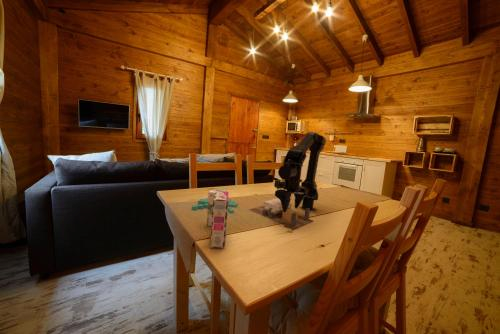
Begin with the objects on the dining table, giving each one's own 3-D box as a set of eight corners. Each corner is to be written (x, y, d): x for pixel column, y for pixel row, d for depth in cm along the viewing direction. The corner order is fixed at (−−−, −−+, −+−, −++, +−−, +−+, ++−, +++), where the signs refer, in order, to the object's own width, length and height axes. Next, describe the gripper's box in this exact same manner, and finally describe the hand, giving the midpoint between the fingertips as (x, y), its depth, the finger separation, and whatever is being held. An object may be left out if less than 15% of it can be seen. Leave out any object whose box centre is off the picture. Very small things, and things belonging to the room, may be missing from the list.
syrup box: (225, 224, 92) (227, 190, 89) (218, 229, 86) (221, 193, 84) (213, 221, 93) (215, 188, 91) (206, 226, 88) (207, 191, 86)
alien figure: (233, 215, 103) (239, 203, 122) (233, 211, 102) (239, 199, 122) (191, 211, 105) (204, 199, 124) (191, 206, 104) (204, 195, 124)
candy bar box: (225, 249, 72) (228, 200, 70) (209, 248, 71) (212, 199, 69) (226, 233, 83) (229, 191, 81) (212, 233, 82) (215, 190, 80)
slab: (276, 202, 113) (276, 198, 113) (291, 207, 107) (291, 203, 106) (263, 205, 106) (264, 201, 105) (278, 211, 100) (279, 206, 99)
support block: (288, 215, 105) (288, 208, 105) (297, 219, 102) (298, 211, 101) (282, 218, 102) (282, 210, 101) (291, 221, 98) (292, 213, 98)
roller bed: (268, 205, 121) (269, 194, 120) (312, 221, 102) (314, 209, 101) (247, 210, 109) (248, 199, 109) (293, 230, 91) (294, 216, 90)
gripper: (290, 172, 111) (287, 202, 113) (266, 175, 98) (263, 208, 100) (310, 176, 103) (306, 208, 105) (287, 180, 90) (283, 216, 92)
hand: (290, 210), depth 101 cm, fingers open, 9 cm apart
